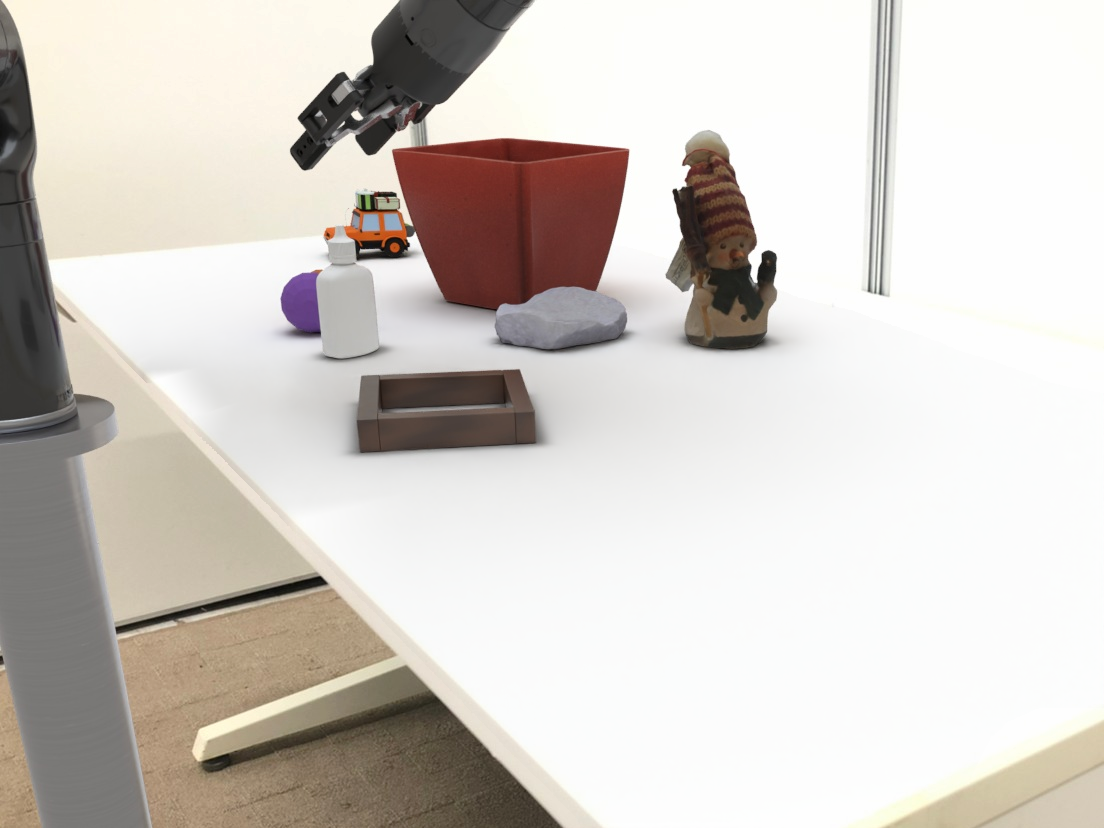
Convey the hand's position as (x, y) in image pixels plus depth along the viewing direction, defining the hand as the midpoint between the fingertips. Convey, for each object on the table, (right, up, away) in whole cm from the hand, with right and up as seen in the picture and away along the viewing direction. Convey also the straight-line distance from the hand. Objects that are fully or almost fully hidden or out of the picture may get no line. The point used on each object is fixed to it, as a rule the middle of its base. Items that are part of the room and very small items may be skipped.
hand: (331, 153), depth 109 cm
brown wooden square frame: (+12, -24, -8) cm, 28 cm away
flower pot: (+10, -5, +37) cm, 39 cm away
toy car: (-15, +6, +63) cm, 65 cm away
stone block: (+18, -13, +20) cm, 29 cm away
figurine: (+33, -12, +22) cm, 41 cm away
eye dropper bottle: (-2, -15, +12) cm, 20 cm away
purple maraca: (-10, -9, +27) cm, 30 cm away
